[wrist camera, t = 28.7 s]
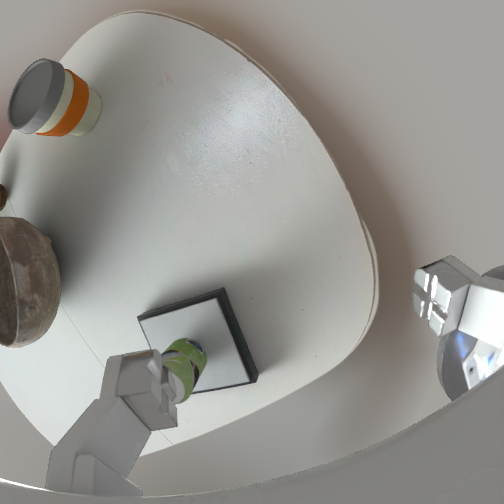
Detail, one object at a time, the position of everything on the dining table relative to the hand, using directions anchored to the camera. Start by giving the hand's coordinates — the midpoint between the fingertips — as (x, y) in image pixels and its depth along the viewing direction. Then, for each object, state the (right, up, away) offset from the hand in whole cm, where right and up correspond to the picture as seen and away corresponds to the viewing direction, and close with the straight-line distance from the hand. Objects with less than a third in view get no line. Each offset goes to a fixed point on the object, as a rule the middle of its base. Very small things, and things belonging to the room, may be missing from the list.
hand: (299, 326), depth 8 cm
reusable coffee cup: (-33, +28, +37) cm, 57 cm away
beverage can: (-10, -13, +35) cm, 38 cm away
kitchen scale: (-10, -12, +37) cm, 41 cm away
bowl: (-45, -2, +43) cm, 62 cm away
